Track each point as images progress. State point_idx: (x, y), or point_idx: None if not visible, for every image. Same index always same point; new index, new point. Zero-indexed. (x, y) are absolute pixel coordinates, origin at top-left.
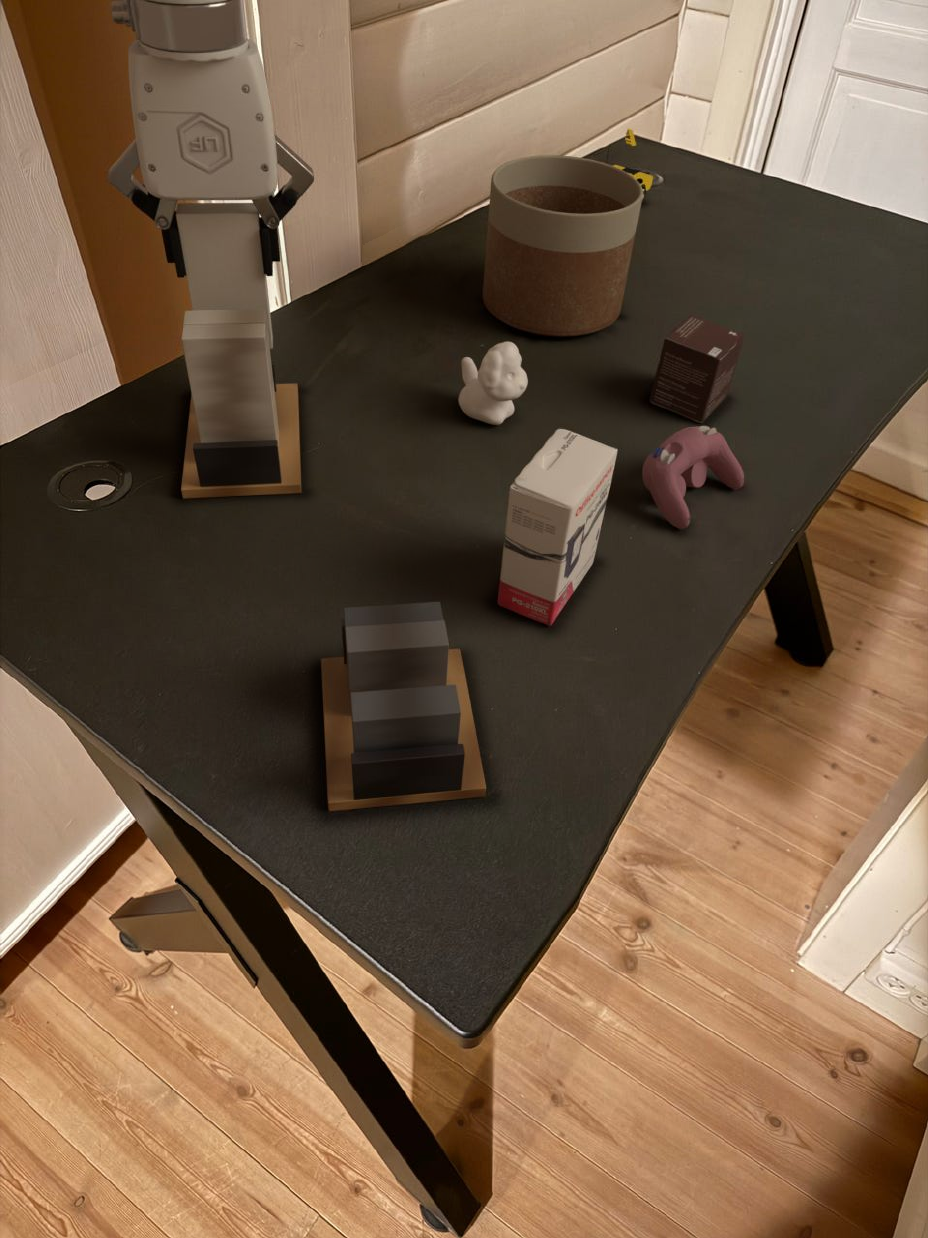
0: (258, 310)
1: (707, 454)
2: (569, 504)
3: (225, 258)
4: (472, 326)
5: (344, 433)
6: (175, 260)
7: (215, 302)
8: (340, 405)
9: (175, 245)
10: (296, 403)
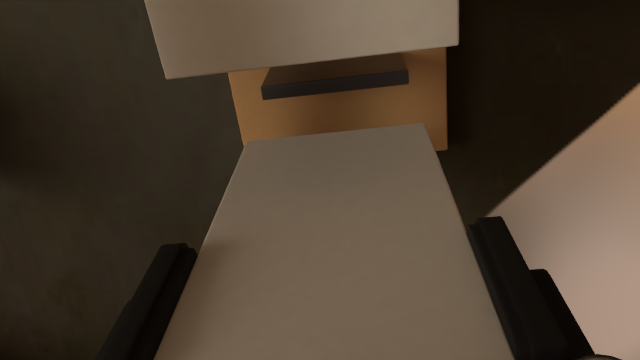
0: (186, 66)
1: None
2: None
3: (318, 282)
4: (6, 349)
5: (135, 30)
6: (514, 250)
7: (373, 189)
8: (165, 123)
9: (523, 294)
10: (236, 102)
